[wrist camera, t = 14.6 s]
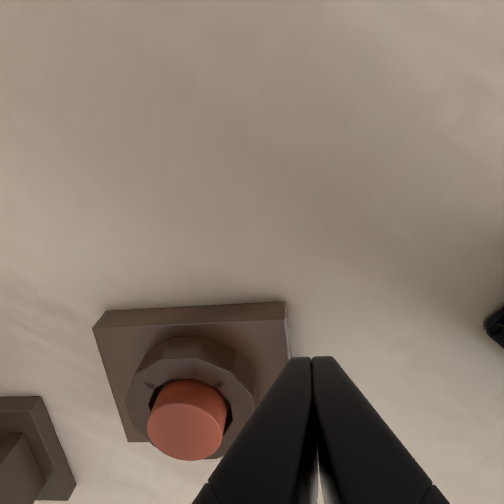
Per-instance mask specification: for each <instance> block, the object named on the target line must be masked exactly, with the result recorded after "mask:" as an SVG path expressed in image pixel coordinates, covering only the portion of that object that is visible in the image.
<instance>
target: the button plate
mask: <svg viewBox="0 0 504 504" xmlns="http://www.w3.org/2000/svg"><path fill="white" fill-rule="evenodd" d="M92 330H93V333H94V336H95V339H96V342H97V345H98V349H99V352H100V355H101V358H102V361H103V364H104V368H105V371H106V374H107V377H108V380H109V383H110V387H111V390H112V393H113V396H114V399H115V402H116V405H117V409H118V412H119V415H120V418H121V421H122V424H123V428H124V431H125V434H126V437H127V440H128V442H150V443H151V444H152V445H153V446H154V447H156V446H155V445H154V444H153V443H152V442H151V440H150V438H149V436H148V433H147V420H148V417H149V415H150V413H151V410H152V408H153V406H154V404H155V401H156V399H157V397H158V394H159V392H160V391H161V389H162V388H163V387H164V386H165V385H167V384H168V383H170V382H172V381H174V380H177V379H197V380H199V381H202V382H204V383H206V384H209V385H211V386H213V387H214V388H216V389H217V390H218V391H219V392H220V393H221V395H222V396H223V398H224V400H225V402H226V405H227V417H226V422H225V426H224V431H223V436H222V440H221V444H220V446H219V447H218V449H217V450H216V451H215V452H214V453H213V454H212V455H210V456H208V457H206V458H204V459H217V458H220V457H222V456H224V455H225V454H226V452H227V451H228V449H229V448H230V447H231V445H232V444H233V442H234V441H235V439H236V438H237V436H238V435H239V433H240V432H241V430H242V429H243V427H244V426H245V424H246V423H247V421H248V420H249V418H250V417H251V415H252V414H253V412H254V411H255V409H256V408H257V406H258V405H259V404H260V402H261V401H262V399H263V398H264V396H265V395H266V393H267V392H268V390H269V389H270V387H271V386H272V384H273V383H274V381H275V380H276V378H277V377H278V375H279V374H280V372H281V371H282V369H283V368H284V366H285V365H286V363H287V362H288V361H289V359H290V358H292V357H291V347H290V337H289V327H288V317H287V308H286V302H271V303H252V304H233V305H214V306H195V307H176V308H157V309H138V310H119V311H106V312H105V313H104V314H103V315H102V316H101V318H100V319H99V320H98V321H97V323H96V324H95V325H94V326H93V327H92ZM156 448H157V447H156Z"/></svg>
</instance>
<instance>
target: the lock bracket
mask: <svg viewBox="0 0 504 504" xmlns="http://www.w3.org/2000/svg"><path fill="white" fill-rule="evenodd" d="M75 487H76V483H75V481H74V478H73V476H72V473H71V471H70V468H69V466H68V463H67V461H66V458H65V456H64V453H63V451H62V448H61V446H60V443H59V441H58V438H57V436H56V433H55V431H54V429H53V426H52V424H51V421H50V419H49V416H48V414H47V411H46V409H45V406H44V404H43V401H42V399H41V397H3V398H0V504H33V503H34V501H35V500H57V501H68V500H69V498H70V496H71V494H72V492H73V491H74V489H75Z"/></svg>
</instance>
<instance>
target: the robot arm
mask: <svg viewBox="0 0 504 504" xmlns="http://www.w3.org/2000/svg"><path fill="white" fill-rule="evenodd" d="M497 325H499V327H498V328H497V329H493V327H495V326H497ZM483 327H484V330H485V331H486V333H487V334H488V335H489V336H490V337H491V338H492V339H493V340H494V341H496V342H497V343H498V344H499V345H501V346H502V347H503V348H504V307H503V308H501V309H500V310H499V311H498V312H496V313H495V314H494V315H492V316H491V317H490V318H489V319H487V320H486V321H485V323H484V325H483ZM492 329H493V330H492ZM317 451H318V452H317ZM318 463H319V474H320V481H321V488H322V494H323V499H324V504H450V503H449V502H448V501H447V499H446V498H445V497H444V495H443V494H442V493H441V492H440V490H439V489H438V488H437V487H436V486H435V485H432V481H431V479H430V478H429V477H428V476H427V474H426V473H425V472H424V471H423V469H422V468H421V467H420V466H419V464H418V463H417V462H416V461H415V459H414V458H413V457H412V456H411V454H410V453H409V452H408V451H407V449H406V448H405V447H404V446H403V444H402V443H401V442H400V440H399V439H398V438H397V437H396V435H395V434H394V433H393V432H392V430H391V429H390V428H389V427H388V425H387V424H386V423H385V422H384V420H383V419H382V418H381V417H380V415H379V414H378V413H377V412H376V410H375V409H374V408H373V407H372V405H371V404H370V403H369V402H368V400H367V399H366V398H365V397H364V395H363V394H362V393H361V392H360V390H359V389H358V388H357V386H356V385H355V384H354V383H353V381H352V380H351V379H350V378H349V376H348V375H347V374H346V373H345V371H344V370H343V369H342V368H341V366H340V365H339V364H338V363H337V361H336V360H335V359H334V358H333V357H332V356H317V357H313V358H312V362H311V359H310V358H309V357H292V358H290V359H289V361H288V362H287V363H286V365H285V366H284V368H283V369H282V371H281V372H280V374H279V375H278V377H277V378H276V380H275V381H274V383H273V384H272V386H271V387H270V389H269V390H268V392H267V393H266V395H265V396H264V398H263V399H262V401H261V402H260V404H259V405H258V406H257V408H256V409H255V411H254V412H253V414H252V415H251V417H250V418H249V420H248V421H247V423H246V424H245V426H244V427H243V429H242V430H241V432H240V433H239V435H238V436H237V438H236V439H235V441H234V442H233V444H232V445H231V447H230V448H229V449H228V451H227V452H226V454H225V455H224V457H223V458H222V460H221V461H220V463H219V464H218V466H217V467H216V469H215V470H214V472H213V473H212V475H211V476H210V478H209V479H208V483H206V484H205V485H204V486H203V488H202V489H201V491H200V492H199V494H198V495H197V497H196V498H195V500H194V501H193V503H192V504H317V497H318Z"/></svg>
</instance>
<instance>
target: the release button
mask: <svg viewBox="0 0 504 504" xmlns="http://www.w3.org/2000/svg"><path fill="white" fill-rule="evenodd" d="M226 417H227V405H226V402H225V400H224V398H223V396H222V395H221V393H220V392H219V391H218V390H217V389H216V388H214V387H213V386H211V385H209V384H206V383H204V382H202V381H199V380H197V379H177V380H174V381H172V382H170V383H168V384H167V385H165V386H164V387H163V388H162V389H161V391H160V392H159V394H158V397H157V399H156V401H155V404H154V406H153V408H152V410H151V413H150V415H149V417H148V420H147V433H148V436H149V438H150V440H151V442H152V443H153V444H154V445H155V446H156V447H157V448H158V449H159V450H160V451H162V452H163V453H165V454H166V455H168V456H171V457H173V458H176V459H180V460H188V461H193V460H200V459H204V458H206V457H208V456H210V455H212V454H213V453H214V452H215V451H216V450H217V449H218V447H219V446H220V444H221V440H222V436H223V431H224V426H225V422H226Z"/></svg>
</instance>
